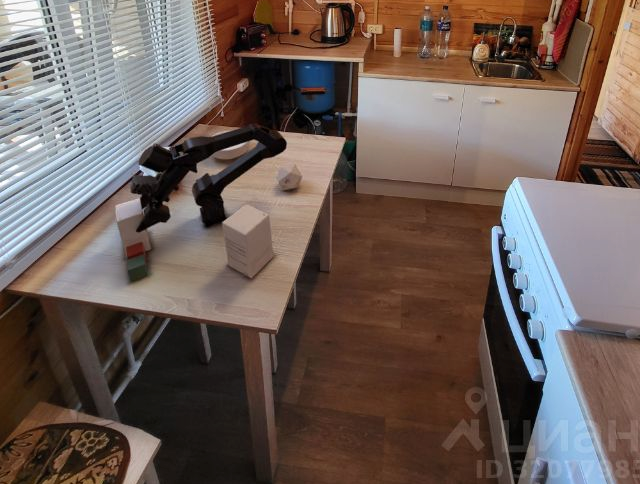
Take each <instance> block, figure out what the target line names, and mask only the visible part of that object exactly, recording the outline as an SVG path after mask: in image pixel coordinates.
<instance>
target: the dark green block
mask: <svg viewBox="0 0 640 484" xmlns="http://www.w3.org/2000/svg"><path fill="white" fill-rule="evenodd" d="M126 270H127V274H128V278H129V282H130V283H131V282H135V281H137V280H139V279H142V278H144V277H148V276H149V273H148V266H147V260H146V261H145V257H144V254H142V255H140V256H137V257H134V258H131V259H129V260H127V259H126Z"/></svg>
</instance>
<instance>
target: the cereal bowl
mask: <svg viewBox="0 0 640 484" xmlns="http://www.w3.org/2000/svg"><path fill="white" fill-rule="evenodd" d="M232 130H233V129H232ZM232 130H224V131H220V132H217V133H215V134H213V135H212V136H216V135H219V134H222V133H226V132H229V131H232ZM250 144H251V141H248V142H245V143H242V144H239V145H236V146H233V147H230V148H227V149H223V150H220V151H218V152H215V153H214V154H213V155H211V156H212V157H214V158H215V159H219V160H233V159H237V158H238V157H242V156H243V155H245V154H246V153H247V151H248V150H249V148H250Z"/></svg>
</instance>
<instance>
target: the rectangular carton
mask: <svg viewBox="0 0 640 484" xmlns="http://www.w3.org/2000/svg"><path fill="white" fill-rule="evenodd" d="M226 218H227V219H226V220H225V221H224V222H221V225H222V232H223V239H224V244H225V250H226V257H227V258H226V259H227V263H228V266H229V267H231V268H233V270H236V271H237V272H239V273H241V274H243V275H245V276H246V277H248V278H250V279H252V278H254V277H255V275H257V274H258V272H260V271H261V270H262V268H264V267H265V266H266V264H268V262H270V261H271V259H272V258H273V257H274V256H275V255H274V246H273V238H272V229H271V219H270V218H271V217H270V214H269V213H267V212H264V211H262V210H260V209H258V208H256V207H254V206H252V205H250V204H247V203H246V204H244V205H243V206H242V207H240V208H239V209H238V210H237V211H235V212H234V213H233V214H231V215H230V216H228V217H226Z"/></svg>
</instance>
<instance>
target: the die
mask: <svg viewBox="0 0 640 484" xmlns="http://www.w3.org/2000/svg"><path fill="white" fill-rule="evenodd" d="M302 179H303V175H302V174H301V172H300V169H299V168H298V166H297V165H296V163H294V164H289V165H284V166H280V168H279V170H278V173H277V175H276V180H277V182H278V184H279V185H280V187H281V189H282V191H288V190H293V189H298V188H299V186H300V184H301V181H302Z"/></svg>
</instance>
